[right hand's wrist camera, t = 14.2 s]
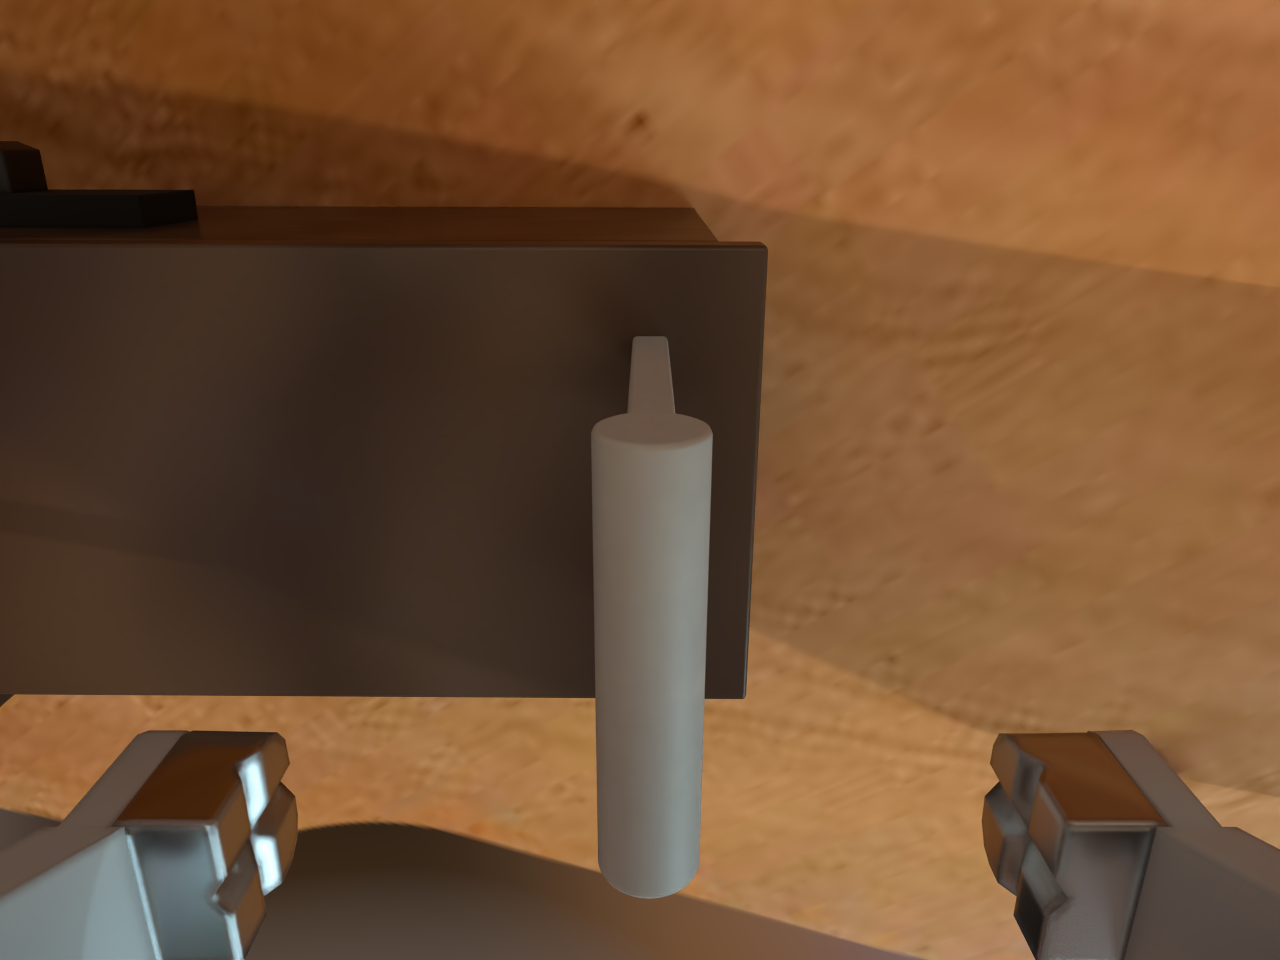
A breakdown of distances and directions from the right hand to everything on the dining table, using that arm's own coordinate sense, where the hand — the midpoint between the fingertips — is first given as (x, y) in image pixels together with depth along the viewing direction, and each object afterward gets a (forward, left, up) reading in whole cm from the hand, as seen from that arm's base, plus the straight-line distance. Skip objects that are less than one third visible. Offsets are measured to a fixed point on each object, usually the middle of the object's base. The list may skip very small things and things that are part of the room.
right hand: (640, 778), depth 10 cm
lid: (+2, +6, -10) cm, 12 cm away
